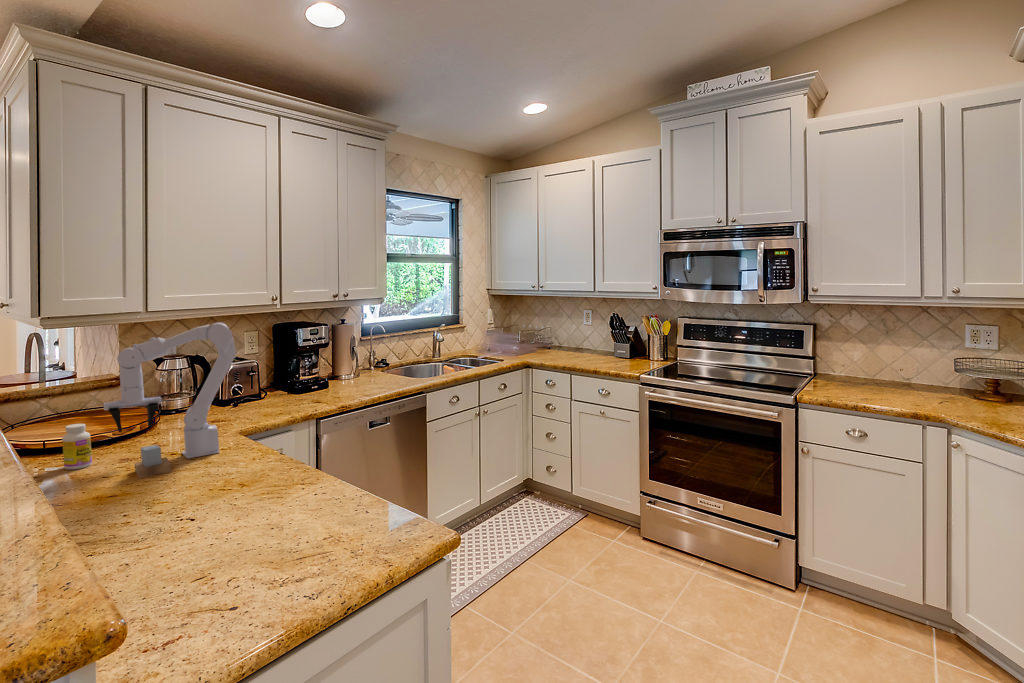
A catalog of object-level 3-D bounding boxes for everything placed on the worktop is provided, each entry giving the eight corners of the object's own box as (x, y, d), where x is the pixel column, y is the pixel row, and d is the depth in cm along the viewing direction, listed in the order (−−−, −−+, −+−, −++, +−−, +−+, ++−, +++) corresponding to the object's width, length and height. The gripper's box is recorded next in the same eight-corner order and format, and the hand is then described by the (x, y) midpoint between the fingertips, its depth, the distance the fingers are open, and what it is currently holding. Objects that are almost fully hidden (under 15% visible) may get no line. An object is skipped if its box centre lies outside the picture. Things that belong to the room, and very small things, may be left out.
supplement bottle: (76, 471, 156) (73, 429, 155) (58, 469, 157) (54, 427, 156) (98, 463, 163) (95, 423, 161) (80, 462, 164) (77, 422, 163)
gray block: (157, 460, 159) (156, 444, 158) (161, 463, 156) (160, 447, 156) (141, 464, 156) (140, 447, 155) (145, 467, 153) (144, 450, 153)
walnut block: (166, 466, 162) (166, 457, 162) (171, 473, 156) (171, 463, 156) (135, 472, 157) (134, 463, 156) (139, 480, 151) (138, 470, 151)
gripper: (157, 381, 170) (160, 422, 172) (101, 387, 160) (104, 430, 162) (161, 385, 165) (164, 427, 167) (103, 391, 155) (107, 435, 157)
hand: (135, 429), depth 164 cm, fingers open, 7 cm apart
